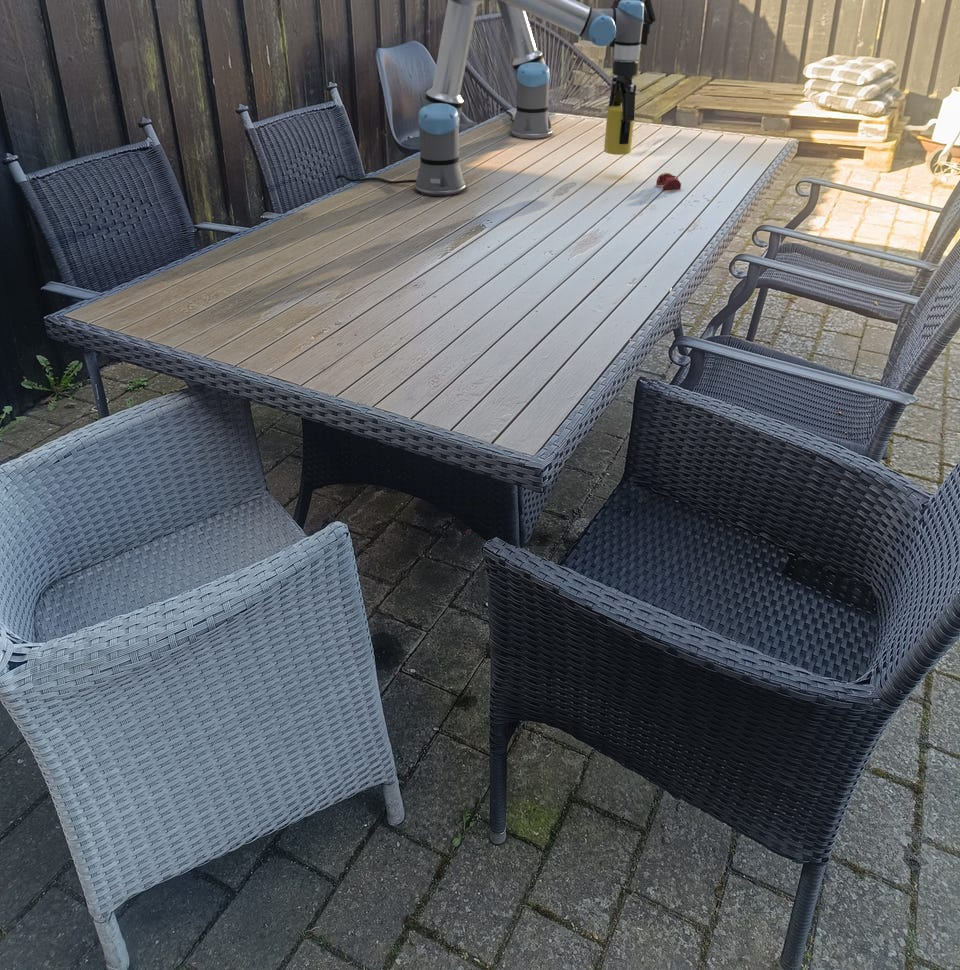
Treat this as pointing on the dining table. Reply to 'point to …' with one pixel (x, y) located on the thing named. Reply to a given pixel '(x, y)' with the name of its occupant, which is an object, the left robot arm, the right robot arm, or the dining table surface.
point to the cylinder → (616, 132)
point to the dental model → (668, 182)
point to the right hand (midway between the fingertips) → (628, 45)
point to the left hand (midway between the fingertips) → (618, 140)
